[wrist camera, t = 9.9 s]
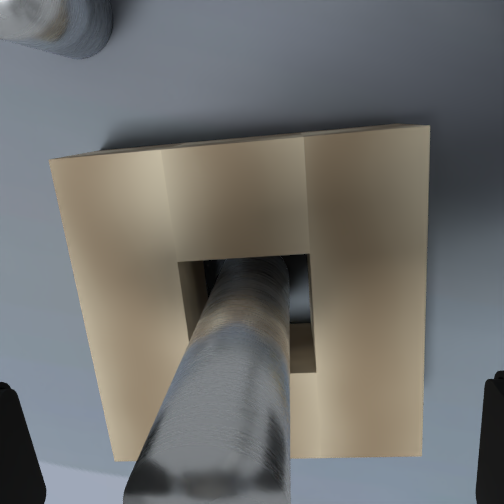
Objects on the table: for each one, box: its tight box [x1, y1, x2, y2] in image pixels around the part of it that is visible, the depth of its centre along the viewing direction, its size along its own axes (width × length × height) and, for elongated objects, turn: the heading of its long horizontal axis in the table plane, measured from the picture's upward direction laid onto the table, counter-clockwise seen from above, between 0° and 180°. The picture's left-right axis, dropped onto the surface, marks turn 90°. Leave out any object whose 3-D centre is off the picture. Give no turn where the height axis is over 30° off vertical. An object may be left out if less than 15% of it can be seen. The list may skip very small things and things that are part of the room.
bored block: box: [49, 124, 430, 461], centre depth 17 cm, size 12×12×4 cm
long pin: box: [123, 256, 291, 504], centre depth 13 cm, size 3×3×12 cm
